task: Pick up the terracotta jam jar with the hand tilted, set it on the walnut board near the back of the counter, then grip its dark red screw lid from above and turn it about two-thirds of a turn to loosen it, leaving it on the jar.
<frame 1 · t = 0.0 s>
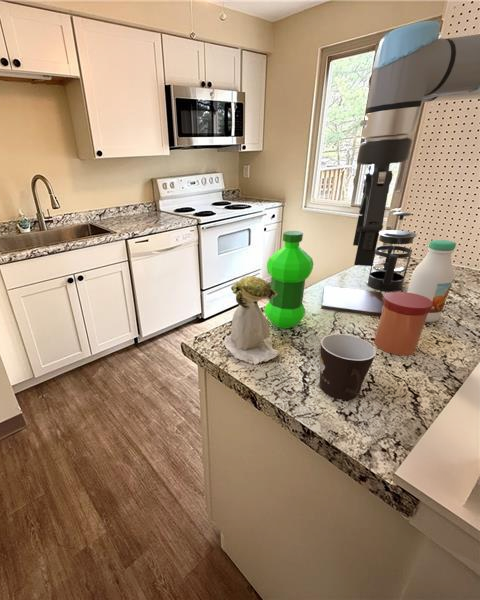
hand: (361, 254, 63), 22 cm above the countertop, tool pointing down, fingers open, 13 cm apart
jar: (393, 345, 71), on the countertop
board: (351, 301, 92), on the countertop
french press: (384, 286, 99), on the countertop
lid: (407, 300, 66), point 12 cm above the countertop, screwed on, not yet turned
frog: (251, 349, 76), on the countertop
coffee mug: (336, 393, 60), on the countertop
milk bottle: (419, 316, 82), on the countertop
plastic bottle: (283, 324, 85), on the countertop
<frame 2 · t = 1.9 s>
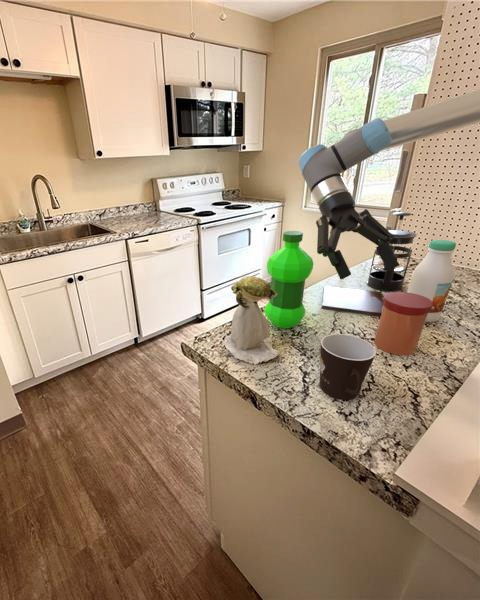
hand: (370, 272, 74), 15 cm above the countertop, tool tilted 45°, fingers open, 13 cm apart
nothing on the countertop moved.
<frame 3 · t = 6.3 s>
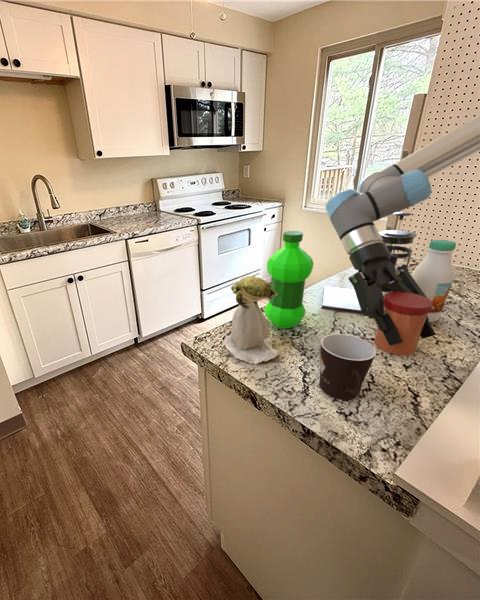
hand: (412, 340, 67), 4 cm above the countertop, tool tilted 45°, fingers closed on jar, 8 cm apart
jar: (393, 345, 71), on the countertop, touching gripper
everything else where it was.
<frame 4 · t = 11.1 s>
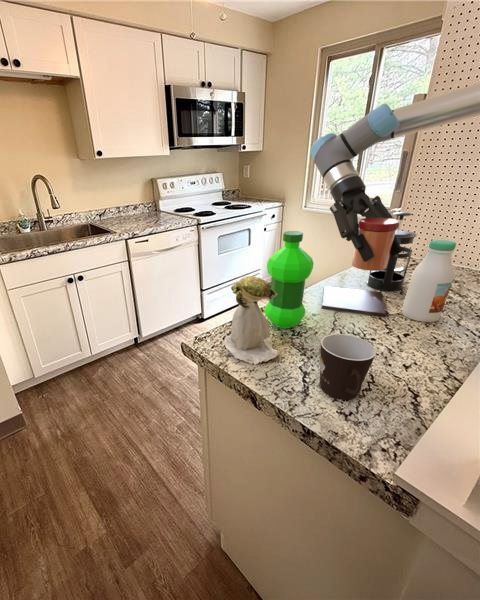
hand: (383, 256, 78), 17 cm above the countertop, tool tilted 45°, fingers closed on jar, 8 cm apart
jar: (368, 265, 82), point 13 cm above the countertop, touching gripper
lid: (378, 222, 77), point 25 cm above the countertop, screwed on, not yet turned
everything else where it was.
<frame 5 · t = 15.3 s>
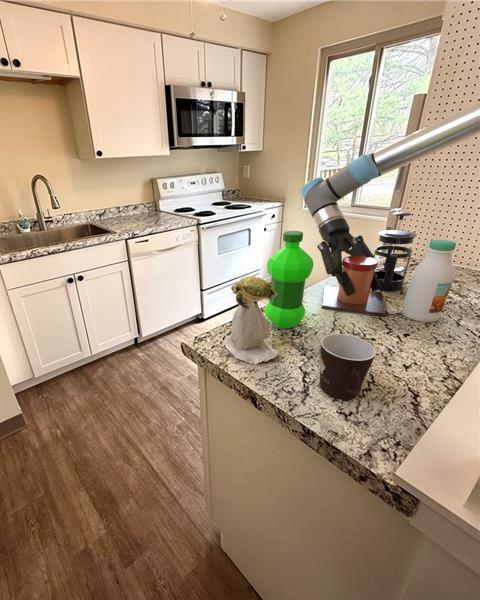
hand: (364, 291, 87), 5 cm above the countertop, tool tilted 45°, fingers closed on jar, 8 cm apart
jar: (351, 298, 92), point 1 cm above the countertop, touching board, gripper
lid: (359, 261, 87), point 13 cm above the countertop, screwed on, not yet turned
everything else where it was.
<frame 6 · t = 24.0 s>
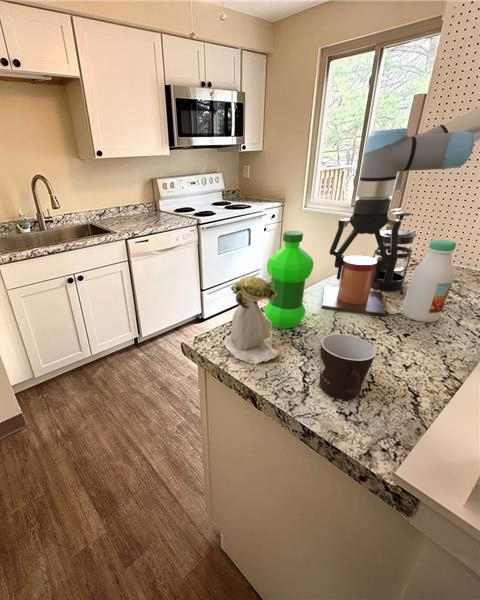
hand: (356, 279, 89), 7 cm above the countertop, tool pointing down, fingers closed on lid, 8 cm apart
jar: (351, 298, 92), point 1 cm above the countertop, touching board
lid: (359, 261, 87), point 13 cm above the countertop, screwed on, not yet turned, touching gripper
everything else where it was.
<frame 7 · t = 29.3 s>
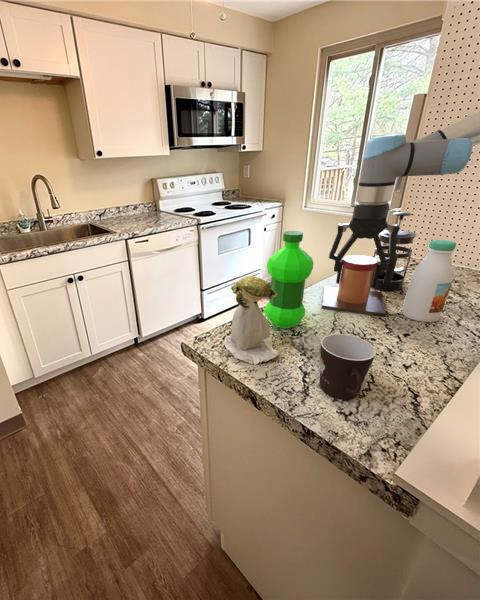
hand: (355, 283, 89), 6 cm above the countertop, tool pointing down, fingers closed on lid, 8 cm apart
lid: (360, 260, 87), point 13 cm above the countertop, turned 119° so far, risen 0.2 cm, still on its thread, touching gripper
everything else where it was.
when the fingers open (6 cm above the countertop, at t = 32.1 s): lid stays where it is, point 13 cm above the countertop.
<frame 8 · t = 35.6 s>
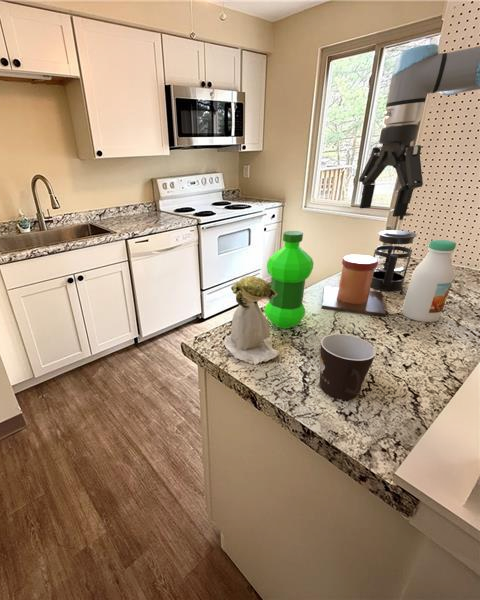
hand: (380, 211, 86), 25 cm above the countertop, tool pointing down, fingers open, 13 cm apart
lid: (360, 260, 87), point 13 cm above the countertop, turned 239° so far, risen 0.3 cm, still on its thread
everything else where it was.
at the end: jar inside the target area on the board (0.1 cm from its centre), point 1.0 cm above the board's base; lid turned 0.66 turns (still on its thread); lid is still on its thread (0.66 turns) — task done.
